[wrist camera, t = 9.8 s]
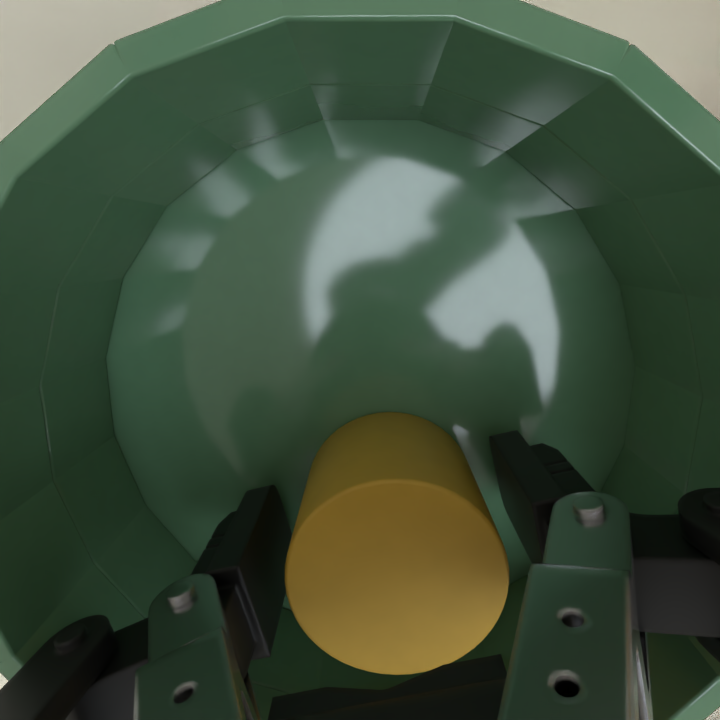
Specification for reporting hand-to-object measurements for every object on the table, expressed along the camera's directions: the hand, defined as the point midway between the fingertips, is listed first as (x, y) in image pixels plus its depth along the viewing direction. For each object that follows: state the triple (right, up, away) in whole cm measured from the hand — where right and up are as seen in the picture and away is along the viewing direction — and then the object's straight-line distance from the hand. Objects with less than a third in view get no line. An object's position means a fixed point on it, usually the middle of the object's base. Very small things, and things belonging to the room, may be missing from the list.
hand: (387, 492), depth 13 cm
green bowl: (-1, +3, +1) cm, 3 cm away
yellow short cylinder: (0, 0, +1) cm, 1 cm away
